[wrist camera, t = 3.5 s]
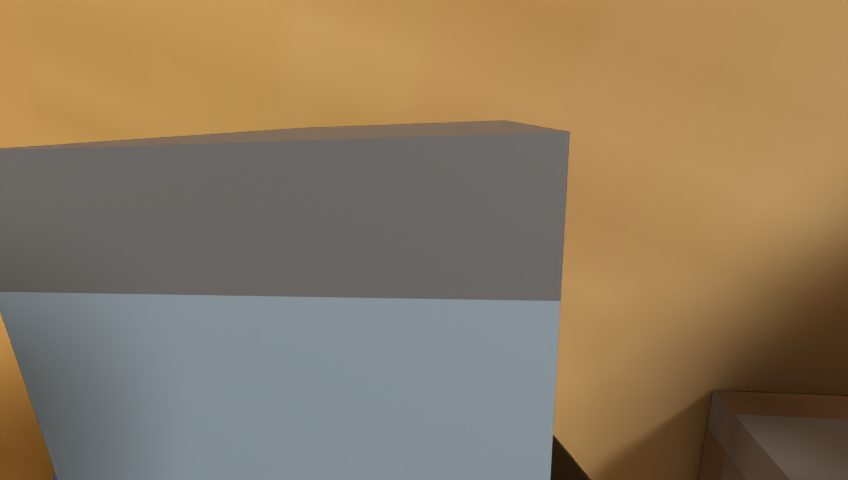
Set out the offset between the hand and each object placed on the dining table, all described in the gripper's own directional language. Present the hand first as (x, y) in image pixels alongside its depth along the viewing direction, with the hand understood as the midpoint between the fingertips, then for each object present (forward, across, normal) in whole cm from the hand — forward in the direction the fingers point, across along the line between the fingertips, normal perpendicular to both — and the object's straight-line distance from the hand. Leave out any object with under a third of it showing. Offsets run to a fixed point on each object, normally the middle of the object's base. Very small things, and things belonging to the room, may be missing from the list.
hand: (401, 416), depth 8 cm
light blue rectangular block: (+2, 0, 0) cm, 2 cm away
